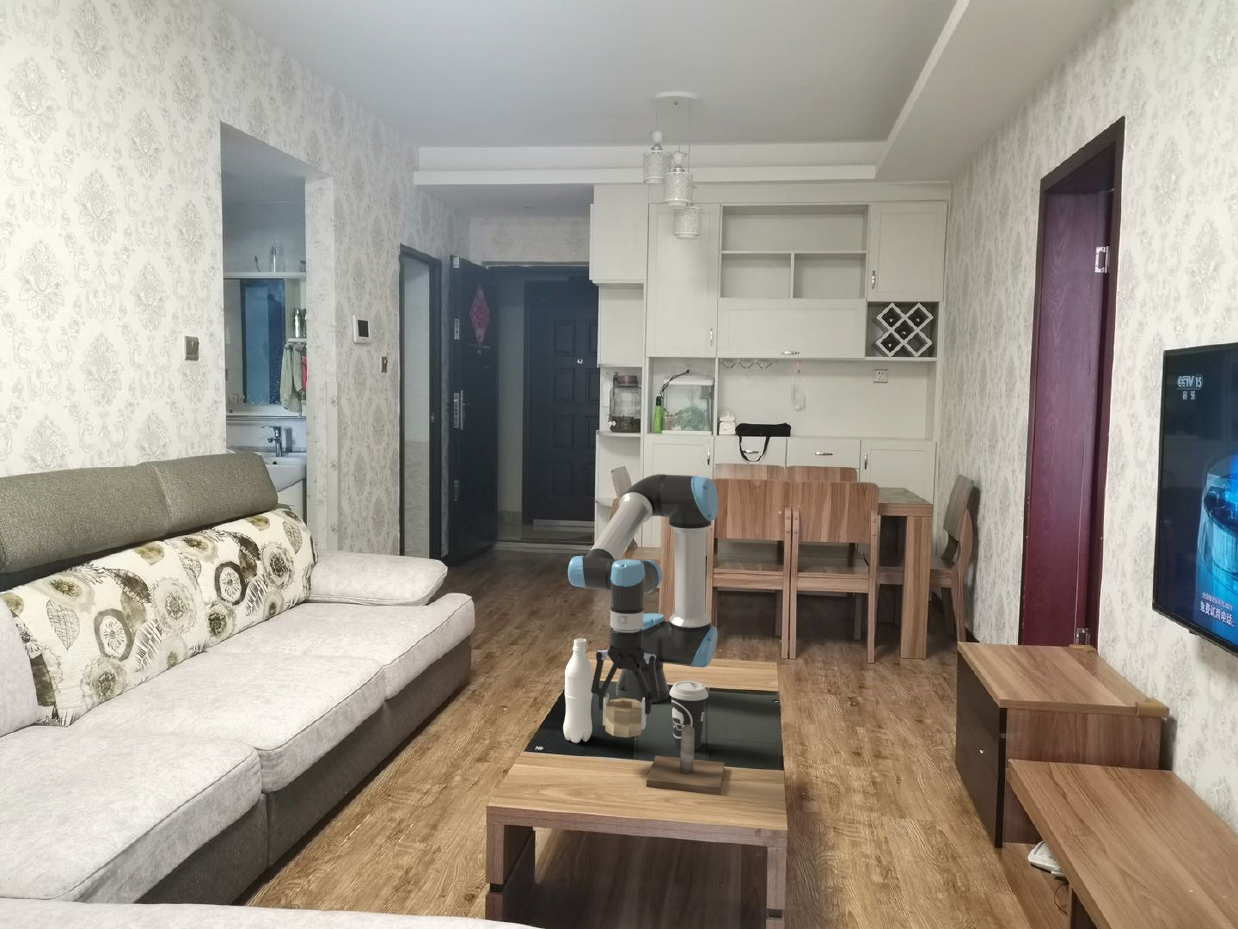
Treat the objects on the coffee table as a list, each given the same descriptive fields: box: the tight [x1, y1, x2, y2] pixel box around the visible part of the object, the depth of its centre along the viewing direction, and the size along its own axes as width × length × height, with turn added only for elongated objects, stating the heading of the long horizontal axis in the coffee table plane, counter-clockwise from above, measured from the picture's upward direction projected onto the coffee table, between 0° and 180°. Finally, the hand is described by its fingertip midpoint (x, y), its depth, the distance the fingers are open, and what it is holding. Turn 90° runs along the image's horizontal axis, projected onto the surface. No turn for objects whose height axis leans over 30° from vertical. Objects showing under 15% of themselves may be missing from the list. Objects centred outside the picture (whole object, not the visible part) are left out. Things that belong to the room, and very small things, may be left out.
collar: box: [604, 698, 644, 738], centre depth 206 cm, size 8×8×6 cm
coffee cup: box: [668, 680, 709, 751], centre depth 220 cm, size 10×10×15 cm
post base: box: [645, 725, 725, 795], centre depth 201 cm, size 14×16×12 cm
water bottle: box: [562, 638, 595, 744], centre depth 222 cm, size 7×7×25 cm
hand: (624, 725), depth 206 cm, fingers closed on collar, 8 cm apart
